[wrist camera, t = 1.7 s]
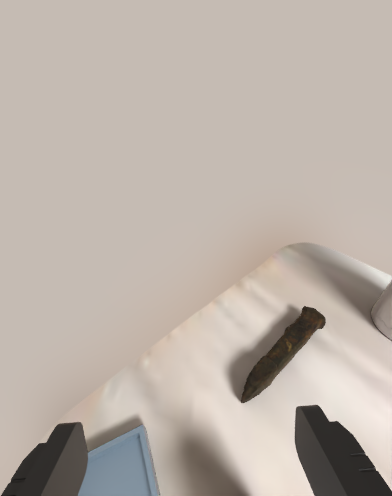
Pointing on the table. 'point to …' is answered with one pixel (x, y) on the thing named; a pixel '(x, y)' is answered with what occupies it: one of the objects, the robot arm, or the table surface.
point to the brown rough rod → (282, 352)
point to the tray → (121, 467)
